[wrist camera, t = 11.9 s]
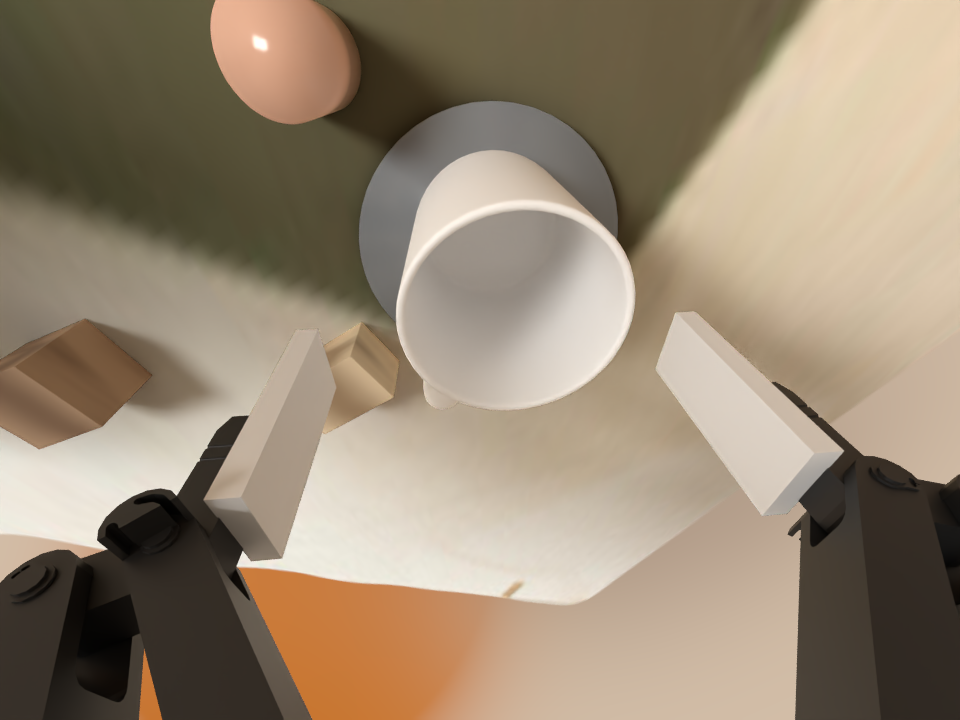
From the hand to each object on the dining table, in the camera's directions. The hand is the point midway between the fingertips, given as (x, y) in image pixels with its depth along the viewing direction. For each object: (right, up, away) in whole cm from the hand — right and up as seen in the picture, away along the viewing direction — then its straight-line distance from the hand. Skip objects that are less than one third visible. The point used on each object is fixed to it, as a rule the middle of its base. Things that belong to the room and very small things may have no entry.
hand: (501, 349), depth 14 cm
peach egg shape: (-8, +13, +3) cm, 16 cm away
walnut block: (-27, 0, +11) cm, 29 cm away
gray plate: (0, +6, +8) cm, 11 cm away
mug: (-1, +6, +8) cm, 10 cm away
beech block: (-10, 0, +13) cm, 17 cm away
